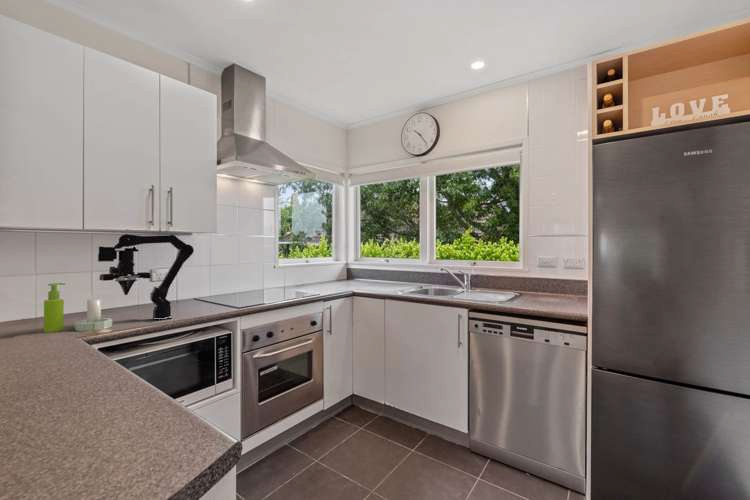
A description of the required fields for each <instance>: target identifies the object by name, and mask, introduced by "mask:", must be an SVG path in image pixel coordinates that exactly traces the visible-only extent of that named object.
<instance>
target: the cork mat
mask: <svg viewBox="0 0 750 500" xmlns="http://www.w3.org/2000/svg"><path fill="white" fill-rule="evenodd" d="M112 331H113V329H111V328H110V329H109V328H104V329H98V330H89V331H81V332H80V335H84V336H90V335H91V336H92V335H100V334H107V333H109V332H112Z"/></svg>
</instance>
